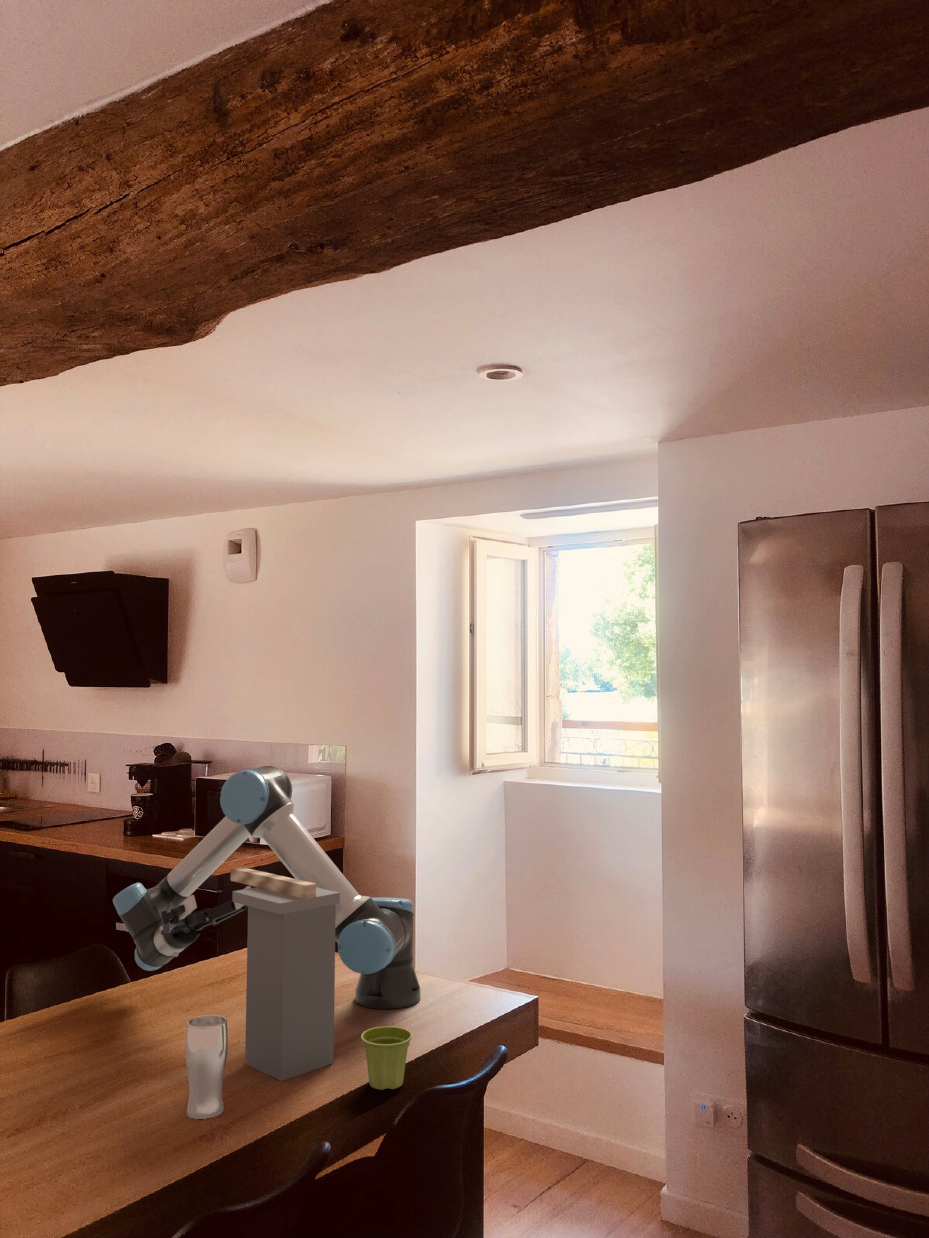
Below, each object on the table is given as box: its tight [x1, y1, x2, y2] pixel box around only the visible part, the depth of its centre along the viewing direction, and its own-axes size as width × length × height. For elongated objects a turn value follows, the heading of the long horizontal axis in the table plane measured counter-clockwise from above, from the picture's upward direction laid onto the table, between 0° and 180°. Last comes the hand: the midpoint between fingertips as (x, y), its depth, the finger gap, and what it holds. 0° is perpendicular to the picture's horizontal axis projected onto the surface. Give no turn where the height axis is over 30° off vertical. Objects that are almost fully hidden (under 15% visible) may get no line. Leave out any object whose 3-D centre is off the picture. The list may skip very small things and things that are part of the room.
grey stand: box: [231, 887, 340, 1082], centre depth 187 cm, size 16×14×32 cm
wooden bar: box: [229, 866, 316, 899], centre depth 192 cm, size 26×2×2 cm, turn 46°
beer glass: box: [184, 1014, 229, 1120], centre depth 164 cm, size 7×7×15 cm
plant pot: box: [360, 1025, 413, 1091], centre depth 175 cm, size 9×9×9 cm
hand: (222, 896), depth 204 cm, fingers open, 13 cm apart
